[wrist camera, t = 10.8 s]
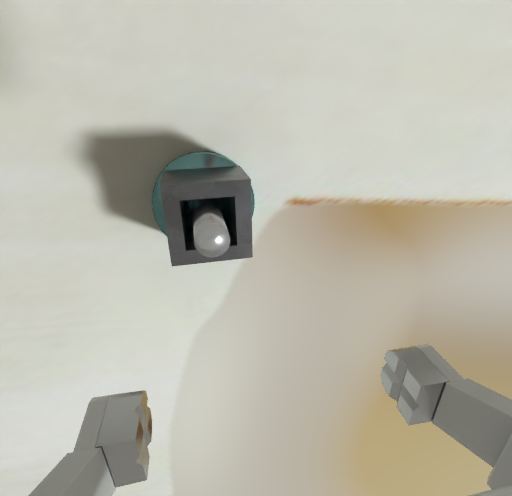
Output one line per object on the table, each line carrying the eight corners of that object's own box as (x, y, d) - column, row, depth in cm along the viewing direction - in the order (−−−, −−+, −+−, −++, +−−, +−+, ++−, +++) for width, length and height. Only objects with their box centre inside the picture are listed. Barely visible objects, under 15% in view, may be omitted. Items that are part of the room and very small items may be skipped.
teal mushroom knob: (251, 149, 28) (278, 170, 20) (253, 241, 32) (276, 289, 24) (145, 153, 26) (129, 178, 18) (160, 250, 30) (153, 305, 22)
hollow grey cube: (239, 165, 27) (250, 179, 23) (242, 233, 30) (252, 257, 26) (163, 170, 26) (159, 185, 22) (173, 240, 29) (171, 266, 25)
